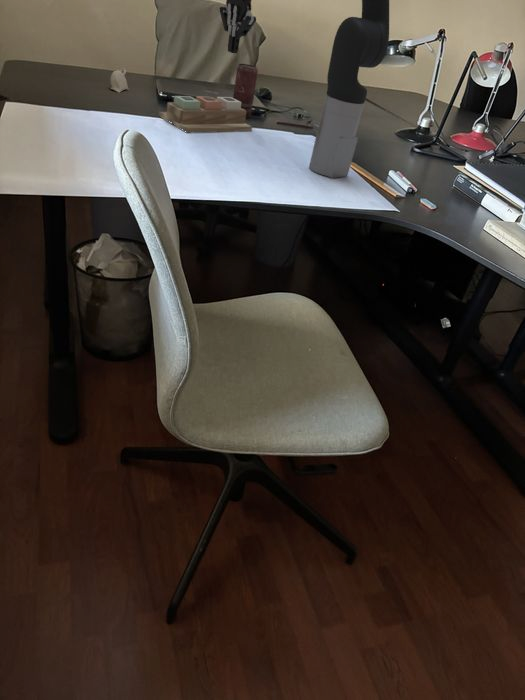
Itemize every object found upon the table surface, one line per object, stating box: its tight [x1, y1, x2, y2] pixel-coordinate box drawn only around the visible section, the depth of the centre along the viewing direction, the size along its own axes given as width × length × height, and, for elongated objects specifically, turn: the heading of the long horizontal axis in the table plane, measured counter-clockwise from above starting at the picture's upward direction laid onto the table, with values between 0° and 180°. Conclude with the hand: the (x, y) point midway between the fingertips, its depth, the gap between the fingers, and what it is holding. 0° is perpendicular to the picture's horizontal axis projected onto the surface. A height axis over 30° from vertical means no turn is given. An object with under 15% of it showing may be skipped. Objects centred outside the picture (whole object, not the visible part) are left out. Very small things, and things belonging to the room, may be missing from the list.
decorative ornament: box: [110, 67, 130, 94], centre depth 157 cm, size 4×8×5 cm, turn 165°
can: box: [232, 63, 259, 120], centre depth 156 cm, size 6×6×14 cm
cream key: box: [216, 96, 241, 110], centre depth 147 cm, size 5×5×3 cm
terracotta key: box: [195, 95, 222, 110], centre depth 143 cm, size 5×5×3 cm
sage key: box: [173, 95, 200, 110], centre depth 139 cm, size 5×5×3 cm
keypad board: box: [158, 101, 253, 133], centre depth 145 cm, size 14×22×4 cm, turn 130°
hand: (232, 52), depth 139 cm, fingers closed
